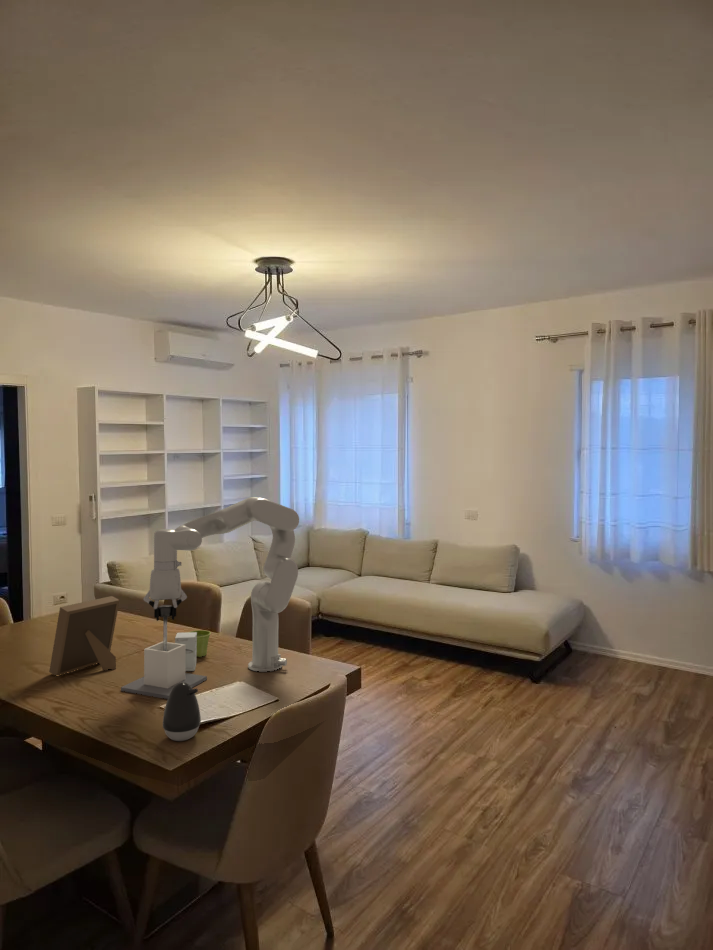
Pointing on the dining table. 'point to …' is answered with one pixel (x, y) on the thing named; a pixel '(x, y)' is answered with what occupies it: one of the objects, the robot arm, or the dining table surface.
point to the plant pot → (202, 642)
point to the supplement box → (188, 648)
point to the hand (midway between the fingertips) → (165, 618)
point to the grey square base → (163, 671)
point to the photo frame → (85, 636)
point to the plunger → (165, 622)
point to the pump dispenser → (181, 713)
